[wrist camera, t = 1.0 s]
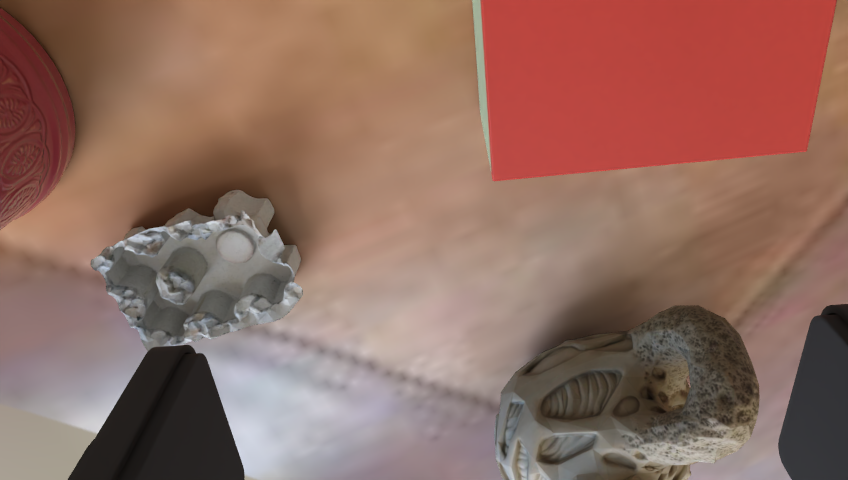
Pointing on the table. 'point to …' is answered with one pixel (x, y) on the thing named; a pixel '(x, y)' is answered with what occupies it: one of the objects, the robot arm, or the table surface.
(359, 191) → the table surface
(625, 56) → the lid
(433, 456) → the table surface
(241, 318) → the egg carton
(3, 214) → the kitchen canister
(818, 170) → the table surface
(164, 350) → the robot arm
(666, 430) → the teapot
